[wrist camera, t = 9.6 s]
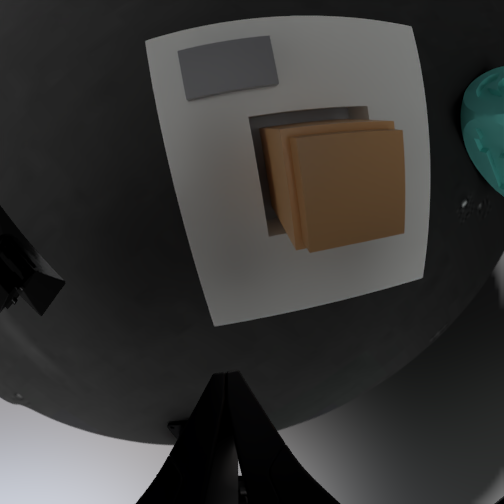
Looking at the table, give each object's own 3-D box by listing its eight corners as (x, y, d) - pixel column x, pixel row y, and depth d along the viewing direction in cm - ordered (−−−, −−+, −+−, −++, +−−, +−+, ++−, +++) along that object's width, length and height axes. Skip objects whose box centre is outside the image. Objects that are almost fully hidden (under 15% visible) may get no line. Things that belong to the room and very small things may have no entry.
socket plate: (401, 258, 20) (428, 283, 16) (215, 298, 19) (214, 335, 16) (386, 36, 13) (419, 23, 9) (158, 54, 12) (140, 36, 9)
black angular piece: (-32, 232, 15) (-62, 254, 11) (-7, 172, 14) (-45, 188, 10) (53, 328, 20) (33, 363, 16) (91, 286, 19) (67, 323, 15)
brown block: (345, 194, 17) (409, 238, 10) (271, 207, 16) (302, 262, 10) (337, 119, 15) (408, 122, 8) (258, 128, 15) (285, 130, 8)
